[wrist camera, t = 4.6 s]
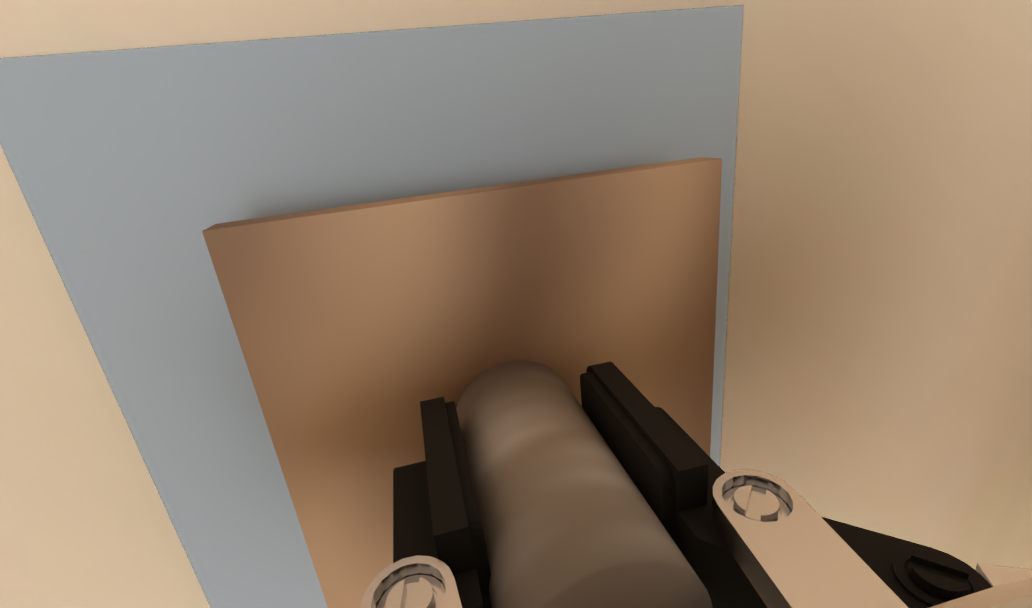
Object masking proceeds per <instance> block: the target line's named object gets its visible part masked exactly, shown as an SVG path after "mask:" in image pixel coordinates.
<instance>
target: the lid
mask: <svg viewBox="0 0 1032 608" xmlns="http://www.w3.org/2000/svg"><path fill="white" fill-rule="evenodd" d="M721 176H722V159H719V158H707V157H699V158H692V159H684V160H677V161H670V162H663V163H655V164H648V165H641V166H633V167H626V168H619V169H612V170H604V171H597V172H590V173H582V174H575V175H568V176H561V177H553V178H546V179H539V180H531V181H524V182H517V183H510V184H502V185H495V186H488V187H480V188H473V189H466V190H458V191H451V192H444V193H437V194H429V195H422V196H415V197H407V198H400V199H393V200H386V201H378V202H371V203H364V204H356V205H349V206H342V207H335V208H327V209H320V210H313V211H305V212H298V213H291V214H284V215H276V216H269V217H262V218H254V219H247V220H240V221H232V222H225V223H218V224H214V225H213V226H211V227H209V228H207V229H205V230H203V231H202V233H203V236H204V239H205V242H206V245H207V248H208V251H209V254H210V257H211V260H212V263H213V266H214V269H215V272H216V275H217V278H218V281H219V284H220V287H221V290H222V293H223V296H224V299H225V302H226V305H227V308H228V311H229V314H230V317H231V320H232V323H233V326H234V329H235V332H236V335H237V338H238V341H239V344H240V347H241V350H242V353H243V356H244V359H245V361H246V364H247V367H248V370H249V373H250V376H251V379H252V382H253V385H254V388H255V391H256V394H257V397H258V400H259V403H260V406H261V409H262V412H263V415H264V418H265V421H266V424H267V427H268V430H269V433H270V436H271V439H272V442H273V445H274V448H275V451H276V454H277V457H278V460H279V463H280V466H281V469H282V472H283V475H284V478H285V481H286V484H287V487H288V490H289V493H290V496H291V499H292V502H293V505H294V508H295V511H296V514H297V517H298V520H299V523H300V526H301V529H302V532H303V535H304V538H305V541H306V544H307V547H308V550H309V553H310V556H311V559H312V562H313V565H314V568H315V571H316V574H317V577H318V580H319V583H320V586H321V589H322V592H323V595H324V598H325V601H326V604H327V607H328V608H361V605H362V598H363V596H364V594H365V592H366V590H367V588H368V586H369V584H370V583H371V582H372V581H373V579H374V578H375V577H376V576H377V575H378V574H379V573H380V572H381V571H383V570H384V569H385V568H386V567H388V566H389V565H391V564H393V470H394V468H397V467H401V466H405V465H409V464H414V463H418V462H422V461H426V458H425V448H424V438H423V428H422V418H421V408H420V401H425V400H430V399H435V398H439V397H444V400H445V403H446V402H451V401H455V406H456V410H457V414H458V419H459V423H460V427H461V432H462V436H463V441H464V445H465V449H466V454H467V458H468V463H469V467H470V471H471V476H472V480H473V485H474V489H475V493H476V498H477V502H478V506H479V511H480V516H481V520H482V526H483V531H484V536H485V542H486V548H487V554H488V560H489V566H490V572H491V577H490V584H489V594H490V602H491V607H492V608H712V603H711V598H710V596H709V593H708V591H707V589H706V588H705V586H704V585H703V583H702V582H701V580H700V579H699V577H698V576H697V574H696V573H695V571H694V570H693V569H692V567H691V566H690V564H689V563H688V561H687V560H686V558H685V557H684V555H683V554H682V552H681V551H680V550H679V548H678V547H677V545H676V544H675V542H674V541H673V539H672V538H671V536H670V535H669V533H668V532H667V531H666V529H665V528H664V526H663V525H662V523H661V522H660V520H659V519H658V517H657V516H656V514H655V513H654V512H653V510H652V509H651V507H650V506H649V504H648V503H647V501H646V500H645V498H644V497H643V495H642V494H641V493H640V491H639V490H638V488H637V487H636V485H635V484H634V482H633V481H632V479H631V478H630V476H629V475H628V474H627V472H626V471H625V469H624V468H623V466H622V465H621V463H620V462H619V460H618V459H617V457H616V456H615V455H614V453H613V452H612V450H611V449H610V447H609V446H608V444H607V443H606V441H605V440H604V438H603V437H602V436H601V434H600V433H599V431H598V430H597V428H596V427H595V425H594V424H593V422H592V421H591V419H590V418H589V417H588V415H587V414H586V412H585V411H584V409H583V408H582V403H581V388H580V375H581V374H582V373H586V370H587V367H588V366H591V365H595V364H600V363H605V362H612V363H613V364H614V365H615V366H616V367H617V368H618V369H619V370H620V371H621V372H622V373H623V374H624V375H625V376H626V377H627V378H628V379H629V380H630V381H631V383H632V384H633V385H634V386H635V387H636V388H637V389H638V390H639V391H640V392H641V393H642V394H643V395H644V396H645V397H646V398H647V399H648V400H649V402H650V403H651V404H652V405H653V406H654V407H661V408H662V409H663V410H665V411H666V412H667V413H668V414H669V416H670V417H671V418H672V419H673V420H674V421H675V422H676V423H677V424H678V425H679V426H680V427H681V428H682V429H683V430H684V431H685V432H686V433H687V434H688V435H689V436H690V437H691V438H692V439H693V440H694V441H695V442H696V443H697V444H698V445H699V446H700V447H701V449H702V450H703V451H704V452H705V453H706V454H707V455H708V456H709V457H710V448H711V423H712V398H713V373H714V349H715V324H716V299H717V275H718V250H719V225H720V200H721Z"/></svg>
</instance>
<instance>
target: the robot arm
mask: <svg viewBox="0 0 1032 608" xmlns="http://www.w3.org/2000/svg"><path fill="white" fill-rule="evenodd" d="M580 388H581V403H582V408H583V409H584V411H585V412H586V414H587V415H588V417H589V418H590V419H591V421H592V422H593V424H594V425H595V427H596V428H597V430H598V431H599V433H600V434H601V436H602V437H603V438H604V440H605V441H606V443H607V444H608V446H609V447H610V449H611V450H612V452H613V453H614V455H615V456H616V457H617V459H618V460H619V462H620V463H621V465H622V466H623V468H624V469H625V471H626V472H627V474H628V475H629V476H630V478H631V479H632V481H633V482H634V484H635V485H636V487H637V488H638V490H639V491H640V493H641V494H642V495H643V497H644V498H645V500H646V501H647V503H648V504H649V506H650V507H651V509H652V510H653V512H654V513H655V514H656V516H657V517H658V519H659V520H660V522H661V523H662V525H663V526H664V528H665V529H666V531H667V532H668V533H669V535H670V536H671V538H672V539H673V541H674V542H675V544H676V545H677V547H678V548H679V550H680V551H681V552H682V554H683V555H684V557H685V558H686V560H687V561H688V563H689V564H690V566H691V567H692V569H693V570H694V571H695V573H696V574H697V576H698V577H699V579H700V580H701V582H702V583H703V585H704V586H705V588H706V589H707V591H708V593H709V596H710V598H711V603H712V608H1032V569H1023V568H1014V567H1006V566H997V565H988V564H979V563H977V566H976V570H974V569H973V568H971V567H970V566H969V565H967V564H966V563H964V562H962V561H960V560H959V559H957V558H955V557H953V556H951V555H949V554H947V553H944V552H941V551H939V550H936V549H933V548H930V547H927V546H923V545H920V544H916V543H912V542H909V541H905V540H902V539H898V538H895V537H891V536H888V535H884V534H880V533H877V532H873V531H870V530H866V529H863V528H859V527H855V526H852V525H848V524H845V523H841V522H838V521H834V520H831V519H827V518H823V517H821V516H820V515H819V514H818V513H817V512H816V511H815V510H814V509H813V508H812V507H811V506H810V505H809V504H808V503H807V502H806V501H805V500H804V499H803V498H802V497H801V496H800V495H799V493H798V492H797V491H796V490H795V489H793V488H792V487H791V486H790V485H788V484H787V483H786V482H785V481H783V480H781V479H779V478H777V477H775V476H773V475H770V474H767V473H764V472H761V471H754V470H734V471H730V472H727V473H725V472H724V471H723V470H722V469H721V468H720V467H719V466H718V465H717V464H716V463H715V462H714V461H713V460H712V459H711V458H710V457H709V456H708V455H707V454H706V453H705V452H704V451H703V450H702V449H701V447H700V446H699V445H698V444H697V443H696V442H695V441H694V440H693V439H692V438H691V437H690V436H689V435H688V434H687V433H686V432H685V431H684V430H683V429H682V428H681V427H680V426H679V425H678V424H677V423H676V422H675V421H674V420H673V419H672V418H671V417H670V416H669V414H668V413H667V412H666V411H665V410H663V409H662V408H661V407H654V406H653V405H652V404H651V403H650V402H649V400H648V399H647V398H646V397H645V396H644V395H643V394H642V393H641V392H640V391H639V390H638V389H637V388H636V387H635V386H634V385H633V384H632V383H631V381H630V380H629V379H628V378H627V377H626V376H625V375H624V374H623V373H622V372H621V371H620V370H619V369H618V368H617V367H616V366H615V365H614V364H613V363H612V362H605V363H600V364H595V365H591V366H588V367H587V370H586V373H582V374H581V375H580ZM420 408H421V418H422V428H423V438H424V448H425V458H426V461H422V462H418V463H414V464H409V465H405V466H401V467H397V468H394V470H393V564H391V565H389V566H388V567H386V568H385V569H384V570H383V571H381V572H380V573H379V574H378V575H377V576H376V577H375V578H374V579H373V581H372V582H371V583H370V584H369V586H368V588H367V590H366V592H365V594H364V596H363V598H362V605H361V608H492V607H491V602H490V594H489V584H490V577H491V572H490V566H489V560H488V554H487V548H486V542H485V536H484V531H483V526H482V520H481V516H480V511H479V506H478V502H477V498H476V493H475V489H474V485H473V480H472V476H471V471H470V467H469V463H468V458H467V454H466V449H465V445H464V441H463V436H462V432H461V427H460V423H459V419H458V414H457V410H456V406H455V401H451V402H446V403H445V400H444V397H439V398H435V399H430V400H425V401H420Z"/></svg>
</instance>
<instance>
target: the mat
mask: <svg viewBox="0 0 1032 608" xmlns="http://www.w3.org/2000/svg"><path fill="white" fill-rule="evenodd" d="M742 24H743V5H735V6H721V7H707V8H693V9H679V10H665V11H651V12H637V13H624V14H610V15H596V16H582V17H568V18H554V19H540V20H526V21H512V22H499V23H485V24H471V25H457V26H443V27H429V28H415V29H401V30H387V31H373V32H360V33H346V34H332V35H318V36H304V37H290V38H276V39H262V40H248V41H235V42H221V43H207V44H193V45H179V46H165V47H151V48H137V49H123V50H110V51H96V52H82V53H68V54H54V55H40V56H26V57H12V58H0V145H1V147H2V149H3V151H4V153H5V156H6V158H7V160H8V162H9V164H10V167H11V169H12V171H13V173H14V175H15V178H16V180H17V182H18V184H19V186H20V189H21V191H22V193H23V195H24V197H25V200H26V202H27V204H28V206H29V208H30V211H31V213H32V215H33V217H34V219H35V222H36V224H37V226H38V228H39V230H40V233H41V235H42V237H43V239H44V241H45V244H46V246H47V248H48V250H49V252H50V255H51V257H52V259H53V261H54V264H55V266H56V268H57V270H58V272H59V275H60V277H61V279H62V281H63V283H64V286H65V288H66V290H67V292H68V294H69V297H70V299H71V301H72V303H73V305H74V308H75V310H76V312H77V314H78V316H79V319H80V321H81V323H82V325H83V327H84V330H85V332H86V334H87V336H88V338H89V341H90V343H91V345H92V347H93V349H94V352H95V354H96V356H97V358H98V360H99V363H100V365H101V367H102V369H103V371H104V374H105V376H106V378H107V380H108V383H109V385H110V387H111V389H112V391H113V394H114V396H115V398H116V400H117V402H118V405H119V407H120V409H121V411H122V413H123V416H124V418H125V420H126V422H127V424H128V427H129V429H130V431H131V433H132V435H133V438H134V440H135V442H136V444H137V446H138V449H139V451H140V453H141V455H142V457H143V460H144V462H145V464H146V466H147V468H148V471H149V473H150V475H151V477H152V479H153V482H154V484H155V486H156V488H157V490H158V493H159V495H160V497H161V499H162V501H163V504H164V506H165V508H166V510H167V513H168V515H169V517H170V519H171V521H172V524H173V526H174V528H175V530H176V532H177V535H178V537H179V539H180V541H181V543H182V546H183V548H184V550H185V552H186V554H187V557H188V559H189V561H190V563H191V565H192V568H193V570H194V572H195V574H196V576H197V579H198V581H199V583H200V585H201V587H202V590H203V592H204V594H205V596H206V598H207V601H208V603H209V605H210V607H211V608H328V607H327V604H326V601H325V598H324V595H323V592H322V589H321V586H320V583H319V580H318V577H317V574H316V571H315V568H314V565H313V562H312V559H311V556H310V553H309V550H308V547H307V544H306V541H305V538H304V535H303V532H302V529H301V526H300V523H299V520H298V517H297V514H296V511H295V508H294V505H293V502H292V499H291V496H290V493H289V490H288V487H287V484H286V481H285V478H284V475H283V472H282V469H281V466H280V463H279V460H278V457H277V454H276V451H275V448H274V445H273V442H272V439H271V436H270V433H269V430H268V427H267V424H266V421H265V418H264V415H263V412H262V409H261V406H260V403H259V400H258V397H257V394H256V391H255V388H254V385H253V382H252V379H251V376H250V373H249V370H248V367H247V364H246V361H245V359H244V356H243V353H242V350H241V347H240V344H239V341H238V338H237V335H236V332H235V329H234V326H233V323H232V320H231V317H230V314H229V311H228V308H227V305H226V302H225V299H224V296H223V293H222V290H221V287H220V284H219V281H218V278H217V275H216V272H215V269H214V266H213V263H212V260H211V257H210V254H209V251H208V248H207V245H206V242H205V239H204V236H203V233H202V231H203V230H205V229H207V228H209V227H211V226H213V225H214V224H218V223H225V222H232V221H240V220H247V219H254V218H262V217H269V216H276V215H284V214H291V213H298V212H305V211H313V210H320V209H327V208H335V207H342V206H349V205H356V204H364V203H371V202H378V201H386V200H393V199H400V198H407V197H415V196H422V195H429V194H437V193H444V192H451V191H458V190H466V189H473V188H480V187H488V186H495V185H502V184H510V183H517V182H524V181H531V180H539V179H546V178H553V177H561V176H568V175H575V174H582V173H590V172H597V171H604V170H612V169H619V168H626V167H633V166H641V165H648V164H655V163H663V162H670V161H677V160H684V159H692V158H699V157H707V158H719V159H722V176H721V200H720V225H719V250H718V275H717V299H716V324H715V349H714V373H713V398H712V423H711V448H710V458H711V459H712V460H713V461H714V462H715V463H716V464H717V465H718V466H719V467H720V451H721V432H722V412H723V393H724V374H725V354H726V335H727V315H728V296H729V276H730V257H731V238H732V218H733V199H734V179H735V160H736V141H737V121H738V102H739V82H740V63H741V43H742Z"/></svg>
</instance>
